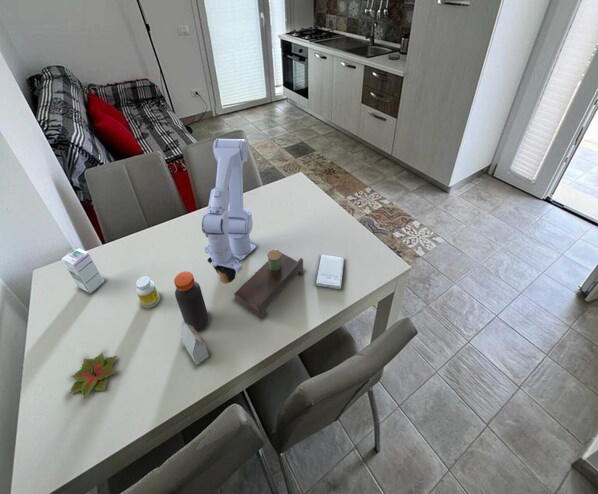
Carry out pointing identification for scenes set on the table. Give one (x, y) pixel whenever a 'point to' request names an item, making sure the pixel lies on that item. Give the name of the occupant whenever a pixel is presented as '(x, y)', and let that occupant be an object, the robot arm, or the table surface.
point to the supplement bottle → (147, 292)
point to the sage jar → (274, 260)
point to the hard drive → (330, 272)
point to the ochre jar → (222, 275)
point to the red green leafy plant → (93, 374)
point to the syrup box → (83, 270)
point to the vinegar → (191, 301)
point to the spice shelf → (267, 285)
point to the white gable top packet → (194, 344)
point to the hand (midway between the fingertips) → (226, 276)
